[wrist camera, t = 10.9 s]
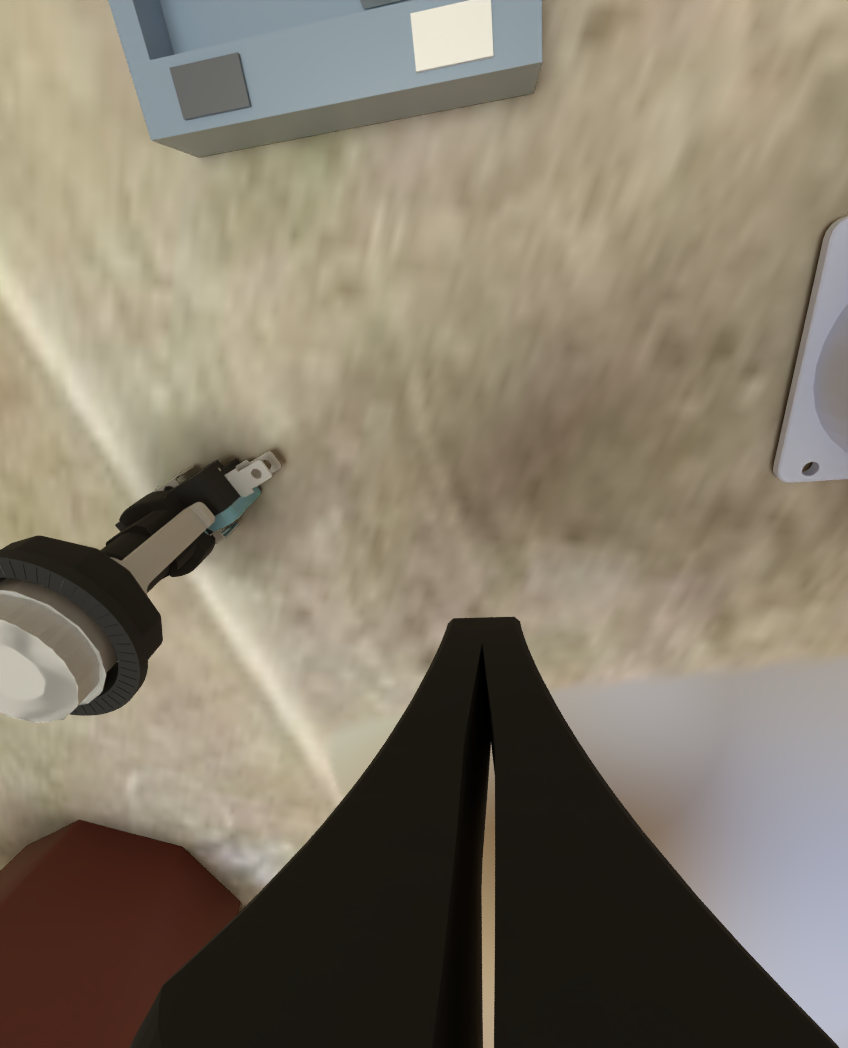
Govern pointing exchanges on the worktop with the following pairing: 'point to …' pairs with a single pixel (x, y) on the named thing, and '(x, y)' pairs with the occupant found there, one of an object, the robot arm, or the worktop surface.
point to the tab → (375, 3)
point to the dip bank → (317, 64)
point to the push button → (108, 594)
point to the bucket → (98, 933)
